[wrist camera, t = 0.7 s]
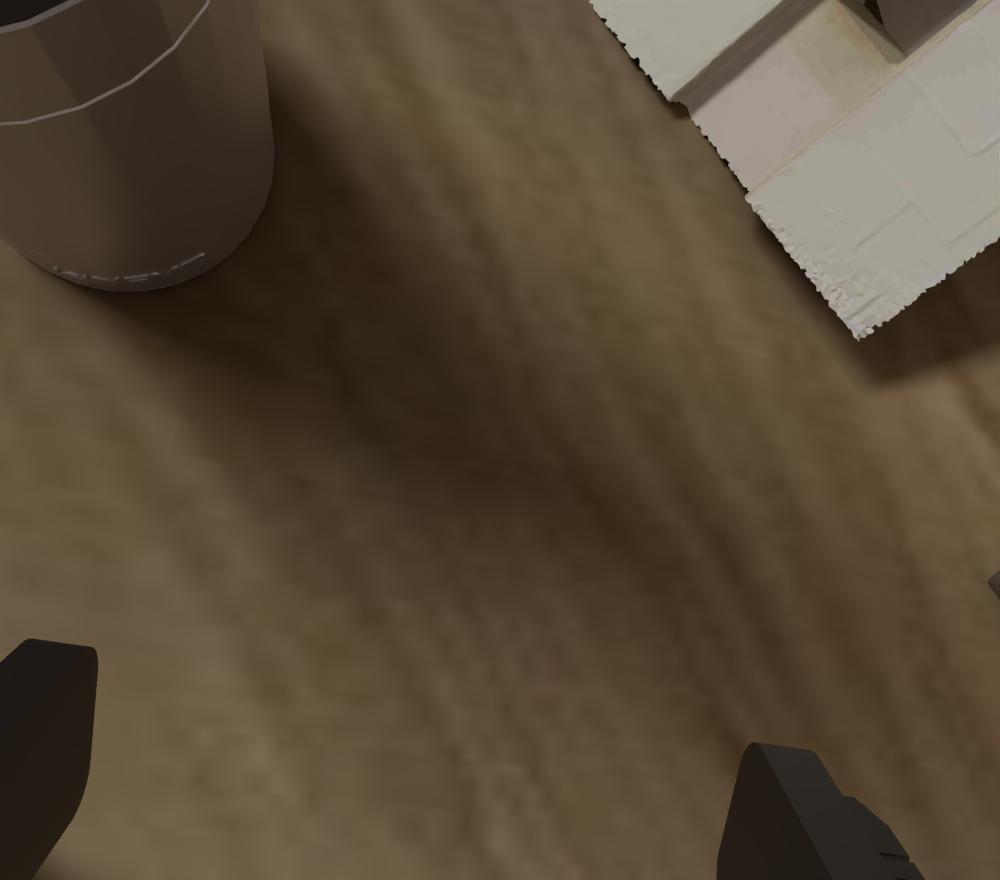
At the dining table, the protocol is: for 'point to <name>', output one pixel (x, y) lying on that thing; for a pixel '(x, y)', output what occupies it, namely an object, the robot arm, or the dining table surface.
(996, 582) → the cup bracket
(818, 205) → the grey wooden stand
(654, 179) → the dining table surface
